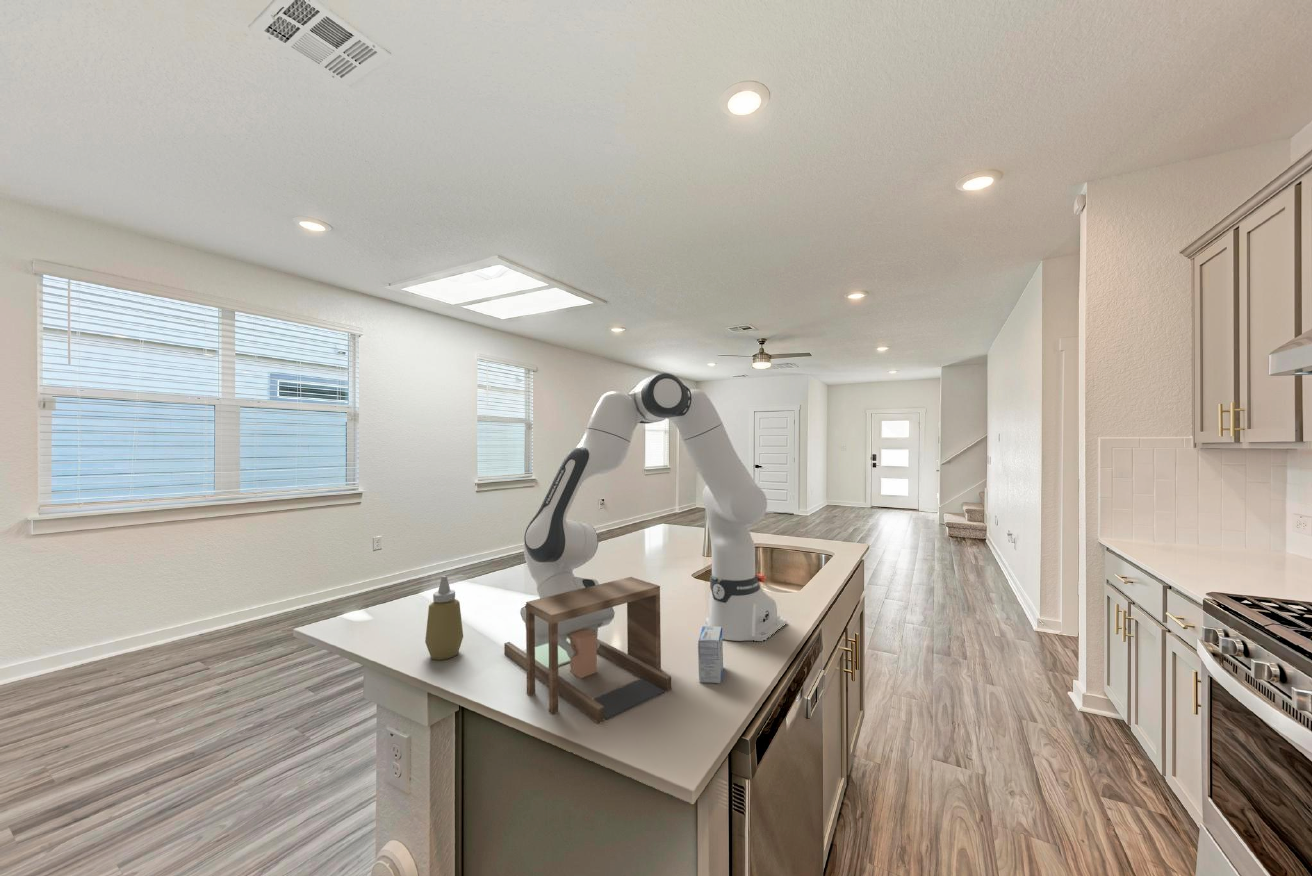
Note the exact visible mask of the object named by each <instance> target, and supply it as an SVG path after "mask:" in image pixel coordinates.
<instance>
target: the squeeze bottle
mask: <svg viewBox="0 0 1312 876" xmlns="http://www.w3.org/2000/svg"><path fill="white" fill-rule="evenodd" d="M432 595H433V596H432V600H433V601H432V602H431V603H430V604H429V605H428V612H427V621H426V633H425V638H424V639H425V642H424V643H425V645H426V648H427V650H428V653H429V656H430V659H433V660H438V661H441V660H447V659H450V658H453V657H455V656H457V655H458V653H459V651H460V649H461V645H462V642H463V639H464V631H463V621H462V613H461V604H460V601H459V599H457V598H456V591H455V590H453V589H451V587H450V584H449V580H448V576H447V575H443V576H440V582H439V587H438V591H435V592H433V594H432Z"/></svg>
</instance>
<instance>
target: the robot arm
mask: <svg viewBox="0 0 1312 876" xmlns="http://www.w3.org/2000/svg"><path fill="white" fill-rule="evenodd" d="M667 419H668V420H669V421H670V422H672V423H673V424H674V425H675V427H676V428H677V431H678V433H679V435H680V437H681V441H682V442H683V444H684V447H685V450H686V451H687V453H688V455H689V457H690V460H691V462H692V465H693V467H694V469H695V470H696V471H697V473H699V475H700V477H701V478H702V479H703V481H704V483H705V486H704V488H703V489H702V493H701V497H702V502H703V505H704V507H705V508H704V509H705V513H706V520H707V527H708V531H709V537H710V548H711V573H710V578H709V587H710V590H711V591H710V592H709V597H708V598H709V599H708V600H709V601H708V610H707V616H706V617H705V623H706V626H716V627H722V640H726V641H736V642H740V641H741V642H742V641H743V642H744V641H753V640H754V641H756V642H764V641H763V640H765V641H766V640H768V639H769V638H770V637H772V636H773V635H774V634H776V633H777V632H778V631H779V630H778V629H779V628H781V627H782V626H784V624H786V623H787V619H785V618H784V617H783V616H781V615H778V609H777V608H778V606H777V603H776V601H775V600H774V598H773V597H771V596H770V595H768V593H766V592H765V591H764V590H763V589H761V586H760V583H762V584H764V583H765V582H766V581H767V576H766V575H765V574H761V573H758V574H756V547H755V546H756V545H755V542H754V539H753V538H752V536H751V535H752V534H751V531H750V528H749V525H752V524H755V523H757V522H759V521H760V520H761V519H763V517H764V515H765V514H766V513H767V512H766V511H767V509H768V499H767V497H766V494H765V492H764V491H763V490H762V488H761V487H760V486H759V485H758V484H757V483H756V482H755V481H754V479H753V477H752V475H751V474H750V472H749V471H748V469H747V468H746V465H744V463H743V462H742V460H741V459H740V456H739V455H738V453H737V452H736V450H735V448H734V446H733V444H732V441H731V439H730V437H729V435H728V433H727V430H726V427H725V426H724V424H723V420H722V419H721V417H720V415H719V413H718V411H717V409H716V407H715V406H714V404H713V402H712V400H711V399H710V398H709V396H708V395H707V393H705V391H703V390H702V389H698V388H697V389H696V388H691V389H690V387H688V386H687V385H685V384H684V383H683V382H682V380H680V378H678V377H677V376H675V375H673V374H672V373H667V372H658V373H654V374H651V375H650V376H648V377H646V378H644V379H642V380H641V381H640V382H639V383H638V384H637V385H635V386H634V387H632V388H631V389H630V390H629V391H628V392H627V393H625V392H623V391H618V390H612V391H611V390H609V391H608V392H605V393H603V394H602V395H601V397H600V398H599V400H598V401H597V403H596V406H595V407H594V409H593V411H592V412H591V416H590V417H589V421H588V423H587V426H586V429H585V431H584V434H583V437H582V438H581V439H580V442H579V443H578V444H577V446H576V447H575V448H572V449H571V450H569V452H568V453H567V455H566V456H565V457H564V460H563V461H562V462H561V465H560V466H559V468H558V469H557V473H556V475H555V476H554V478H553V481H552V483H551V485H550V487H549V488H548V491H547V493H546V494H545V497H544V499H543V501H542V503H541V505H540V507H539V509H538V511H537V512H536V514H535V515H534V517H533V518H532V519H531V521H530V522H529V524H528V525H527V527H526V529H525V533H524V540H523V542H524V544H523V555H524V556H523V557H524V559H525V563H526V566H527V569H528V572H529V574H530V576H531V579H532V580H533V581H534V582H535V584H536V591H537V594H538V596H539V599H541V598H545V597H549V596H553V595H557V594H561V593H566V592H570V591H574V590H578V589H582V588H586V587H591V586H595V585H599V584H600V583H599V581H598V580H597V579H595V578H585V577H579V576H575V575H574V570H575V569H577V568H579V567H581V566H583V565H585V564H586V563H588V562H589V561H590V560H592V559H593V558H594V556H595V555H596V552H597V550H598V547H599V538H598V534H597V531H596V529H595V528H594V527H593V526H592V525H591V524H588V523H585V522H581V521H577V520H571V519H568V518H567V515H568V513H569V512H570V510H571V508H572V507H571V506H572V504H573V503H574V500H575V498H576V496H577V494H578V492H579V489H580V488H581V486H582V485H583V483H584V482H585V481H586V480H588V479H590V478H592V477H594V476H598V475H603V474H608V473H610V472H612V471H615V470H617V469H618V468H619V467H621V465H622V464H623V462H624V461H625V459H626V456H627V455H628V452H629V449H630V448H629V447H630V445H631V441H632V439H633V435H634V431H635V430H636V428H637V426H638V424H643V425H644V424H646V425H647V424H653V423H658V422H659V423H660V422H662V421H665V420H667ZM759 582H760V583H759ZM519 611H520V612H519V613H520V617H521V620H522V621H523V622H524V625H525V626H524V627H526V603H524V605H523V606H522V607H521V608H520V610H519ZM614 618H615V609H614V607H610V608H607V609H603V610H600V611H596V612H593V613H589V614H586V615H582V616H579V617H575V618H572V619H568V620H564V621H561V622H558V645H559V646H560V647H561V648H562V649H564V650H565V651H566V652H567V654H568V657H569V658H572V657H574V656H576V655H577V654H578V650H577V649H576V646H575V645H573V646H572V645H571V644H570V643H569V642H568V641H566V639H567V638H569V637H570V634H571V633H574V632H578V631H581V630H584V629H587V630H589V631H591V632H593V633H595V634H597V636H598V634H599V632H598V631H599V628H601V627H604V626H608V625H610V624H611V622H612V621H614ZM787 624H788V623H787ZM787 624H786V625H787ZM784 627H785V626H784ZM782 628H783V627H782ZM782 628H781V629H782ZM777 630H778V631H777ZM776 631H777V632H776ZM775 632H776V633H775ZM773 633H774V634H773ZM772 634H773V635H772ZM771 635H772V636H771ZM768 637H769V638H768ZM767 638H768V639H767ZM598 639H599V638H597V648H598V647H599V646H600V644H599V642H598ZM548 643H549V630H548V622H547V621H545V620H543V619H541V618H539V617H538V616H536V615H535V647H538V646H541V645H544V644H548Z"/></svg>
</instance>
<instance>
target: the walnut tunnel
mask: <svg viewBox="0 0 1312 876" xmlns="http://www.w3.org/2000/svg"><path fill="white" fill-rule="evenodd" d="M525 604H526V626H525V631H526V633H525V636H526V637H525V641H526V642H525V644H526V646H525V647H526V649H525V650H526V653H525V652H524V651H523V650H522V649H521V648H519V647H518V646H517V645H515V644H513V643H512V642H510V641H508V642H504V646H503V647H504V648H503V650H504V656H506V657H508V658H509V659H510V660H511V661H513V662H514V663H516V664H517V665H518V666H520V667H521V668H522V669H524V670H525V671H526V694H527V695H529V696H532V695H535V694H536V679H537V680H539V681H540V682H542V683H543V684H544V685H545V686H547V687H548V712H549V713H550V712H551V713H550V714H551V715H554V714H557V713H559V696H560V697H562V698H563V699H564V700H566V701H567V702H569V703H570V704H571V705H572V706H574V707H575V706H576V707H575V708H576V709H578V710H580V711H581V712H582V713H583V714H585V715H586V716H588V717H589V718H590V719H592V721H594V722H596V723H597V724H601V723H603V722H605V719H604V706H603V705H601V704H600V703H598V702H597V701H595V700H594V698H592V697H591V696H590V695H588V694H587V693H585V692H584V691H582V690H581V689H579V688H578V687H576V686H575V685H573V684H572V683H571V682H569V681H567V680H566V679H565V678H563V677H562V676H560V675H559V666H558V622H561V621H564V620H568V619H572V618H575V617H579V616H582V615H586V614H589V613H593V612H596V611H600V610H603V609H607V608H610V607H613V608H614V607H617V606H621V605H624V604H626V613H627V615H626V617H627V620H626V622H627V623H626V624H627V625H626V629H627V634H626V635H627V653H626V652H625V651H622V650H620V649H618V648H616V647H614V646H612V645H610V644H608V643H606V642H604V641H602V640H600V639H599V638H597V639H598V642H599V644H600V646H599V647H598V648H597V655H600V656H602V657H603V658H606V659H607V660H609V661H611V662H613V663H614V664H616V665H618V666H620V667H621V668H624V669H625V670H627V671H629V672H630V673H632V674H634V675H636V676H638V677H640V679H641V678H643V679H645V680H647V681H649V682H650V683H652V684H654V685H656V686H658V687H660V688H661V689H663V690H665V692H669V691H671V690H672V676H671V675H669V674H667V673H665V672H663V671H662V670H661V669H662V657H661V656H662V655H661V654H662V648H661V644H662V643H661V641H662V639H661V638H662V637H661V634H662V633H661V585H658V584H656V583H655V584H654V583H651V582H649V581H645V580H641V579H638V578H635V577H633V576H629V577H624V578H620V579H617V580H612V581H608V582H604V583H601V584H600V583H599V585H595V586H591V587H586V588H582V589H578V590H574V591H570V592H566V593H561V594H557V595H553V596H549V597H545V598H541V599H540V598H537V599H533V600H529V601H528V600H527V601H526V602H525ZM535 615H536V616H538V617H539V618H541V619H543V620H545V621H547V622H548V630H549V668H547V667H546V666H544V665H543V664H541V663H540V662H538V661H537V660H535ZM568 639H570V637H568ZM600 722H601V723H600Z"/></svg>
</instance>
